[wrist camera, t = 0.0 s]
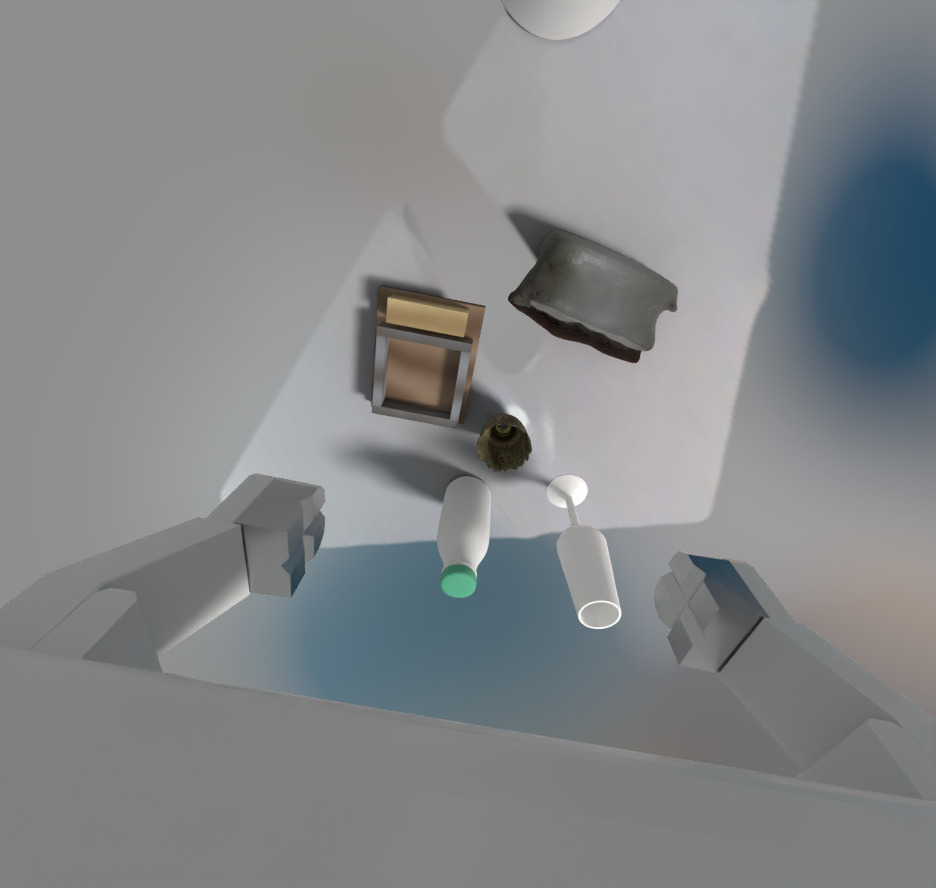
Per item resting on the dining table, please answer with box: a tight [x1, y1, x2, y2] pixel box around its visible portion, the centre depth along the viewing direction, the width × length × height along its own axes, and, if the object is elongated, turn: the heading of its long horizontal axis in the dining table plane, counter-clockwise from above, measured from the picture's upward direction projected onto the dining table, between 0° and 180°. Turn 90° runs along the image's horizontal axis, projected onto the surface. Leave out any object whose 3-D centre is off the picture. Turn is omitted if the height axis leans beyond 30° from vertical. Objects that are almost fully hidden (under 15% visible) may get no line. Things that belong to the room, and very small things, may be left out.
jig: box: [371, 286, 485, 429], centre depth 54 cm, size 17×14×4 cm
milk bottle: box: [437, 476, 491, 598], centre depth 58 cm, size 8×8×20 cm
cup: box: [477, 414, 532, 472], centre depth 57 cm, size 8×7×8 cm
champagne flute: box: [547, 475, 621, 629], centre depth 55 cm, size 7×7×24 cm
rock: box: [508, 229, 678, 363], centre depth 48 cm, size 18×11×8 cm, turn 70°
